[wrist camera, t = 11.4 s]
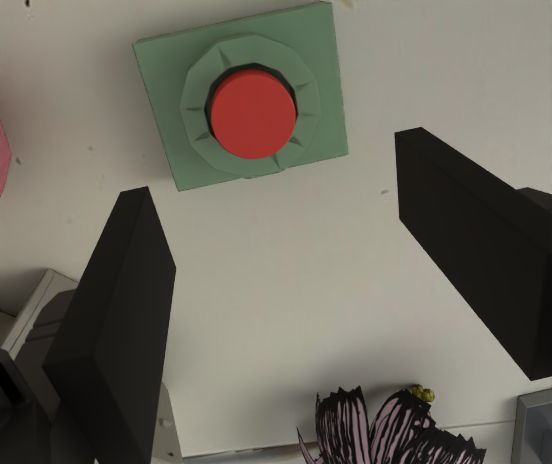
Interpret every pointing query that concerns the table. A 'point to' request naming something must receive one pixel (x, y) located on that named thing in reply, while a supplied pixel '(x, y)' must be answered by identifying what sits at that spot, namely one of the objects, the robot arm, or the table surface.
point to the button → (252, 114)
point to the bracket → (533, 429)
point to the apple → (4, 158)
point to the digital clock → (13, 331)
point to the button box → (234, 57)
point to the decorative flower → (386, 432)
